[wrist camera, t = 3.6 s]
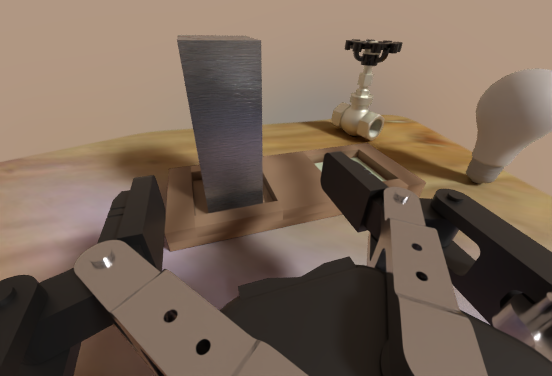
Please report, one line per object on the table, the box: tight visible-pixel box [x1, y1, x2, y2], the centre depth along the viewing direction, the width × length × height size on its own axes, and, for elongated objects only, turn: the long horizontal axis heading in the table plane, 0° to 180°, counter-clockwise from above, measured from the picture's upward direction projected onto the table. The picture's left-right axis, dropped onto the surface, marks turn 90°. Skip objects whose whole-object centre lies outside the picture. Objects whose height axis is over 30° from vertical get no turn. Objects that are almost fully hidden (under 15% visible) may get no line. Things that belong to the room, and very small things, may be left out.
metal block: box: [177, 35, 263, 213], centre depth 18 cm, size 4×4×12 cm
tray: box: [165, 143, 426, 251], centre depth 23 cm, size 22×9×2 cm, turn 108°
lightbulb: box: [466, 69, 552, 184], centre depth 23 cm, size 6×6×11 cm
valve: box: [332, 39, 402, 141], centre depth 33 cm, size 7×7×12 cm
